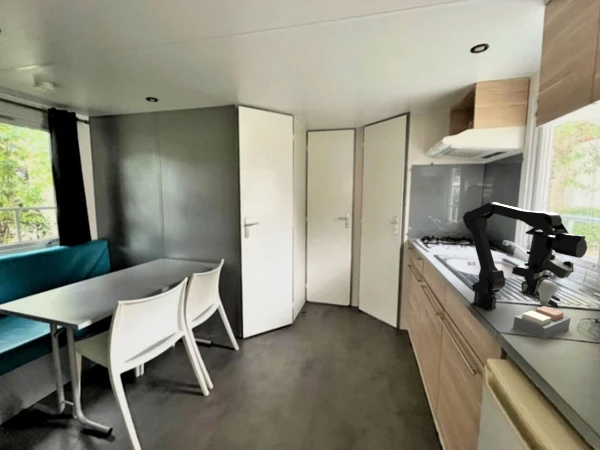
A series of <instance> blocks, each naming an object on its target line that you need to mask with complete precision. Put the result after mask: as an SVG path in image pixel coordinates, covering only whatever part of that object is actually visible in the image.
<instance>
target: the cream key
mask: <svg viewBox="0 0 600 450" xmlns="http://www.w3.org/2000/svg"><path fill="white" fill-rule="evenodd" d="M522 314H523V316H522V318H524V319H527V320H529V321H532V322H534V323H537V324H540V325H542V326H544V325H546V324H549V323H551V317H548V316H545V315H543V314H540V313H537V312H534V311H532V310H529V311H527V312H523V313H522Z"/></svg>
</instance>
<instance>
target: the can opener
mask: <svg viewBox="0 0 600 450" xmlns="http://www.w3.org/2000/svg"><path fill="white" fill-rule="evenodd" d="M520 287H521V292H523V293H524V294H526V295H534V296H536V297H538V298H539V299H540V294H539V292H538V290H537V292H536V293H535V294H532V293H530V290H529V288H528V285H527V283H526V280H523V281H522V282H521V285H520ZM552 299H553V300H552ZM560 301H561V299H560V298H559V297H558V296H556V295H554V294H553V295H552V297H551V298H550V301H549V303H548V305H549V304H550V305H551V306H554V307H558V306H559V305H558V303H557V302H560Z"/></svg>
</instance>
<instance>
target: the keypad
mask: <svg viewBox="0 0 600 450" xmlns="http://www.w3.org/2000/svg"><path fill="white" fill-rule="evenodd" d="M531 311H534V312H536V309H533V310H531ZM522 316H523V313H521V314H518V315H515V316H514V320H513V326H512V327H513V328H514V329H517V330H519V331H521V332H524V333H526V334H529V335H530V336H532V337H536V338H538V339H540V340H542V341H545V340H547V339H549V338H552V337H553V336H554V337H555V335H559V334H561V333H563V332H565V331H567V330H569V328H570V323H571V317H569V316H565V315H563V318H561V319H559V320H556V321H555V320H553V319H551V323H549V324H546V325H544V326H542V325H540V324H537V323H534V322H532V321H529V320H527V319H524V318H522Z"/></svg>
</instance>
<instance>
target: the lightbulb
mask: <svg viewBox="0 0 600 450" xmlns="http://www.w3.org/2000/svg"><path fill="white" fill-rule="evenodd" d="M557 290H558V288H557V285H556V284H555V283H554V282H553V281H551V280H548V279H545V280H544V281H543V282H542V284H541V285H540V287H539V289H538V292H539V294H540V298H539V305H541V307H542V306H546V307H548V305H549V301H550V299H552V298H551V297H552V295H554V294H556V292H557Z"/></svg>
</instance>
